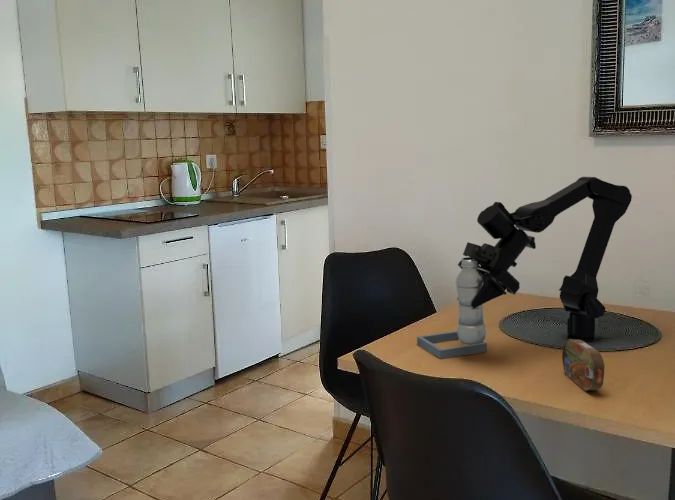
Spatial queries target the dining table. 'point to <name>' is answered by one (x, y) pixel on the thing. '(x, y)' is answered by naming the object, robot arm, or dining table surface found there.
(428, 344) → the frame
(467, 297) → the plastic bottle
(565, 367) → the tin
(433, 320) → the dining table surface
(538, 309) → the dining table surface
